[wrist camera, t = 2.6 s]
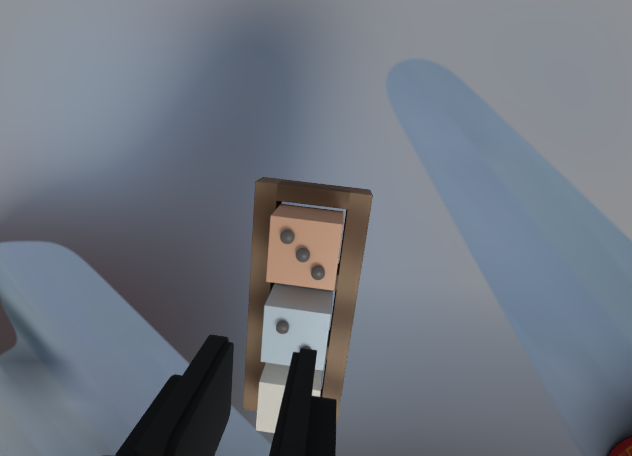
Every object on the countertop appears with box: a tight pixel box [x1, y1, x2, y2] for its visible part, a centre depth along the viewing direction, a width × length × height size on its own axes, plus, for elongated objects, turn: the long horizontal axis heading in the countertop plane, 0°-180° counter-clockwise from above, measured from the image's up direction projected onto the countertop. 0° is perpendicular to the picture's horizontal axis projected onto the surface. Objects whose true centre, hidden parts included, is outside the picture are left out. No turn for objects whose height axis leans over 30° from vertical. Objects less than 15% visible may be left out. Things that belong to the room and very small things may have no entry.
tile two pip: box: [261, 283, 332, 371], centre depth 25 cm, size 5×5×4 cm
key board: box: [243, 177, 373, 423], centre depth 27 cm, size 20×8×2 cm, turn 174°
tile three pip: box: [266, 204, 343, 291], centre depth 23 cm, size 5×5×4 cm
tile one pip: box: [256, 362, 322, 433], centre depth 27 cm, size 5×5×4 cm
